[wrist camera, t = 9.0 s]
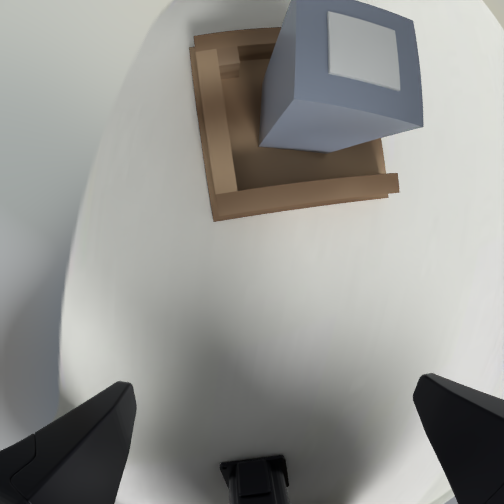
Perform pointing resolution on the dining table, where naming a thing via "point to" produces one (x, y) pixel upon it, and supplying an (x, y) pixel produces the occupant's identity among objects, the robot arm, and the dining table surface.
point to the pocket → (262, 158)
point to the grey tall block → (340, 77)
